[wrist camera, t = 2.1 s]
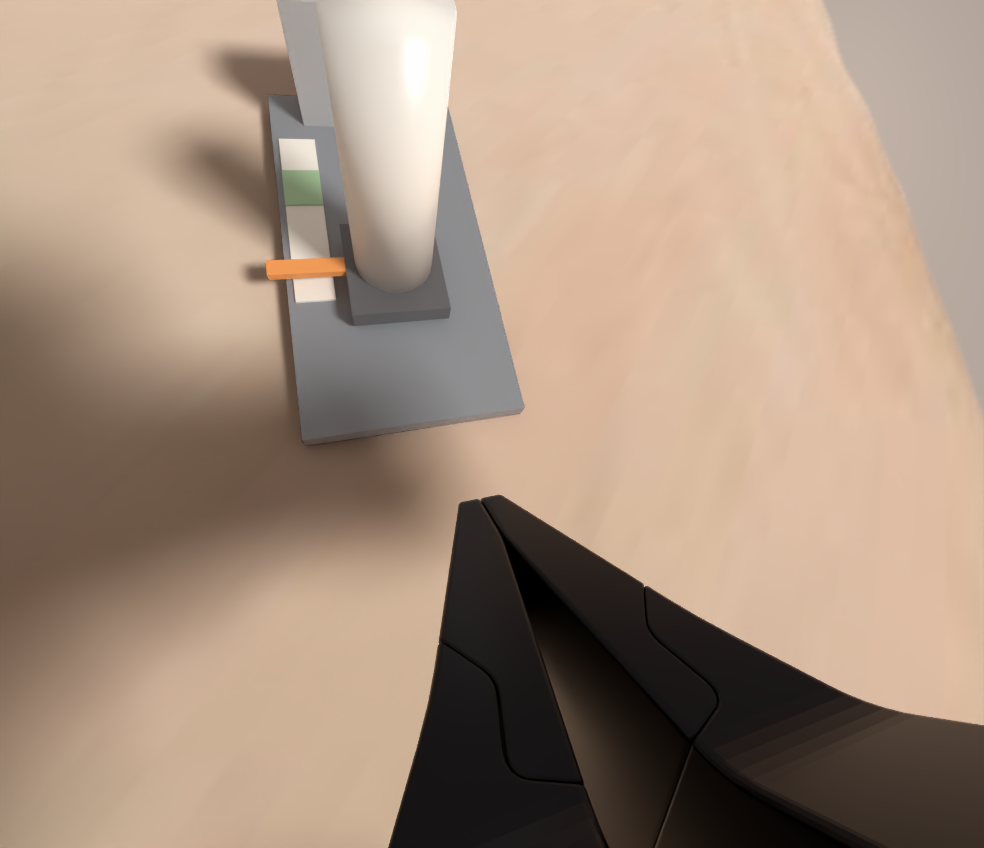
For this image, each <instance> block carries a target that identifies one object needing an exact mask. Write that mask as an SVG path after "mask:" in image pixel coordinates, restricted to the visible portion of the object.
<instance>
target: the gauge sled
mask: <svg viewBox="0 0 984 848" xmlns="http://www.w3.org/2000/svg"><path fill="white" fill-rule="evenodd" d="M315 4H316V11H317V18H318V24H319V31H320V37H321V44H322V50H323V57H324V63H325V70H326V77H327V83H328V90H329V96H330V103H331V109H332V116H333V122H334V129H335V136H336V142H337V149H338V155H339V162H340V168H341V175H342V182H343V188H344V195H345V201H346V208H347V214H348V221H349V224H339V226H340V233H341V240H342V247H343V254H344V257H334V258H311V259H289V260H267V261H266V271H267V277H268V279H269V280H280V279H298V278H316V277H334V276H347V281H348V288H349V295H350V302H351V309H352V316H353V321H354V326H364V325H376V324H387V323H399V322H411V321H423V320H435V319H446V318H449V316H450V310H451V306H450V301H449V297H448V292H447V287H446V283H445V278H444V274H443V269H442V265H441V260H440V256H439V251H438V246H437V242H436V237H435V228H436V218H437V208H438V198H439V188H440V178H441V168H442V158H443V148H444V138H445V128H446V118H447V108H448V98H449V88H450V78H451V68H452V58H453V48H454V38H455V28H456V18H457V10H456V5H455V2H454V0H315Z"/></svg>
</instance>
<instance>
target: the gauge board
mask: <svg viewBox="0 0 984 848" xmlns="http://www.w3.org/2000/svg"><path fill="white" fill-rule="evenodd" d="M277 5H278V10H279V14H280V19H281V23H282V28H283V32H284V37H285V41H286V46H287V50H288V55H289V60H290V64H291V69H292V73H293V78H294V82H295V87H296V91H297V96H290V95H269V94H268V102H269V112H270V122H271V132H272V142H273V153H274V163H275V173H276V183H277V193H278V203H279V213H280V223H281V234H282V244H283V254H284V260H289V259H311V258H334V257H344V254H343V247H342V240H341V233H340V226H339V224H349V221H348V214H347V208H346V201H345V195H344V188H343V182H342V175H341V168H340V162H339V155H338V149H337V142H336V136H335V129H334V122H333V116H332V109H331V103H330V96H329V90H328V83H327V77H326V70H325V63H324V57H323V50H322V44H321V37H320V31H319V24H318V18H317V11H316V4H315V0H277ZM435 237H436V242H437V246H438V251H439V256H440V260H441V265H442V269H443V274H444V278H445V283H446V287H447V292H448V297H449V301H450V306H451V310H450V316H449V318H446V319H435V320H423V321H411V322H399V323H387V324H376V325H364V326H354V321H353V316H352V309H351V302H350V295H349V288H348V281H347V276H334V277H316V278H298V279H286V284H287V294H288V304H289V315H290V325H291V335H292V345H293V355H294V365H295V375H296V385H297V396H298V406H299V416H300V426H301V436H302V441H303V442H304V443H305V445H306V446H308V445H315V444H321V443H328V442H335V441H342V440H348V439H355V438H362V437H368V436H375V435H382V434H388V433H395V432H402V431H409V430H415V429H422V428H429V427H435V426H442V425H449V424H456V423H462V422H469V421H476V420H482V419H489V418H496V417H503V416H509V415H516V414H520V413H521V412H522V410H523V409H524V408H525V407H524V403H523V399H522V396H521V392H520V388H519V384H518V380H517V376H516V372H515V368H514V364H513V360H512V356H511V352H510V348H509V345H508V341H507V337H506V333H505V329H504V325H503V321H502V317H501V313H500V309H499V305H498V301H497V297H496V293H495V290H494V286H493V282H492V278H491V274H490V270H489V266H488V262H487V258H486V254H485V250H484V246H483V242H482V238H481V235H480V231H479V227H478V223H477V219H476V215H475V211H474V207H473V203H472V199H471V195H470V191H469V187H468V183H467V180H466V176H465V172H464V168H463V164H462V160H461V156H460V152H459V148H458V144H457V140H456V136H455V132H454V128H453V125H452V121H451V117H450V113H449V109H448V108H447V118H446V128H445V138H444V148H443V158H442V168H441V178H440V188H439V198H438V208H437V218H436V228H435Z"/></svg>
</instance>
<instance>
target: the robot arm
mask: <svg viewBox="0 0 984 848" xmlns="http://www.w3.org/2000/svg"><path fill="white" fill-rule="evenodd" d="M388 848H984V725H978V724H971V723H965V722H959V721H952V720H946V719H939V718H933V717H927V716H920V715H914V714H909V713H903V712H899V711H895V710H891V709H887V708H884V707H881V706H878V705H875V704H872V703H869V702H866V701H863V700H861V699H858V698H856V697H853V696H851V695H848V694H846V693H844V692H842V691H840V690H838V689H836V688H834V687H832V686H829V685H827V684H826V683H824V682H822V681H820V680H818V679H816V678H814V677H812V676H810V675H808V674H806V673H804V672H802V671H800V670H799V669H797V668H795V667H793V666H791V665H789V664H787V663H785V662H783V661H781V660H779V659H777V658H775V657H773V656H772V655H770V654H768V653H766V652H764V651H762V650H760V649H758V648H756V647H754V646H752V645H750V644H748V643H746V642H745V641H743V640H741V639H739V638H737V637H735V636H733V635H731V634H729V633H728V632H726V631H724V630H722V629H720V628H718V627H716V626H715V625H713V624H711V623H709V622H707V621H705V620H704V619H702V618H700V617H698V616H696V615H695V614H693V613H691V612H690V611H688V610H686V609H685V608H683V607H681V606H679V605H678V604H676V603H674V602H673V601H671V600H669V599H668V598H666V597H664V596H663V595H661V594H660V593H658V592H656V591H655V590H653V589H652V588H650V587H648V586H645V587H644V585H643V583H642V582H640V581H638V580H637V579H635V578H634V577H632V576H630V575H629V574H627V573H626V572H624V571H622V570H621V569H619V568H618V567H616V566H614V565H613V564H611V563H610V562H608V561H606V560H605V559H603V558H602V557H600V556H598V555H597V554H595V553H594V552H592V551H590V550H589V549H587V548H586V547H584V546H582V545H581V544H579V543H577V542H576V541H574V540H573V539H571V538H569V537H568V536H566V535H565V534H563V533H561V532H560V531H558V530H557V529H555V528H553V527H552V526H550V525H549V524H547V523H545V522H544V521H542V520H541V519H539V518H537V517H536V516H534V515H533V514H531V513H529V512H528V511H526V510H525V509H523V508H521V507H520V506H518V505H517V504H515V503H513V502H512V501H510V500H508V499H507V498H505V497H504V496H502V495H495V496H490V497H485V498H482V499H481V501H480V500H478V499H475V500H470V501H465V502H461V503H460V504H459V507H458V514H457V521H456V527H455V534H454V541H453V548H452V555H451V561H450V568H449V575H448V582H447V589H446V595H445V602H444V609H443V616H442V623H441V629H440V636H439V645H438V648H437V654H436V661H435V668H434V674H433V679H432V684H431V690H430V695H429V701H428V705H427V709H426V713H425V717H424V721H423V725H422V729H421V733H420V737H419V741H418V745H417V749H416V752H415V756H414V759H413V763H412V766H411V770H410V773H409V777H408V780H407V784H406V787H405V791H404V794H403V798H402V801H401V805H400V808H399V812H398V815H397V819H396V822H395V826H394V829H393V833H392V836H391V840H390V843H389V847H388Z"/></svg>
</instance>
